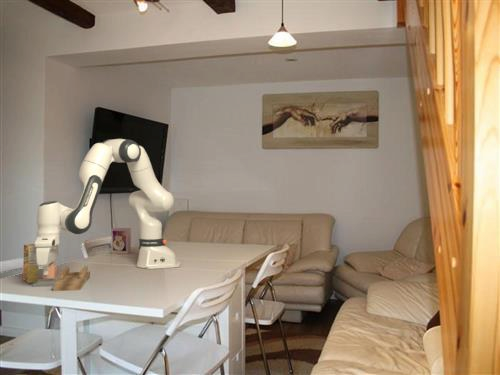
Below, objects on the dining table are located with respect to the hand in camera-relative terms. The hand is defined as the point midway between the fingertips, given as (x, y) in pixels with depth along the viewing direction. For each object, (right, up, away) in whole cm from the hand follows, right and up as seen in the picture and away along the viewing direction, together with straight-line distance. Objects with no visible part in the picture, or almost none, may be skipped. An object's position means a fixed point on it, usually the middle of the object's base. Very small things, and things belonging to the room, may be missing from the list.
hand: (48, 273), depth 179 cm
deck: (+10, -5, +1) cm, 11 cm away
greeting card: (+6, -4, +85) cm, 85 cm away
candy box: (-10, -5, +5) cm, 12 cm away
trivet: (0, -4, 0) cm, 4 cm away
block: (+1, -2, 0) cm, 2 cm away
